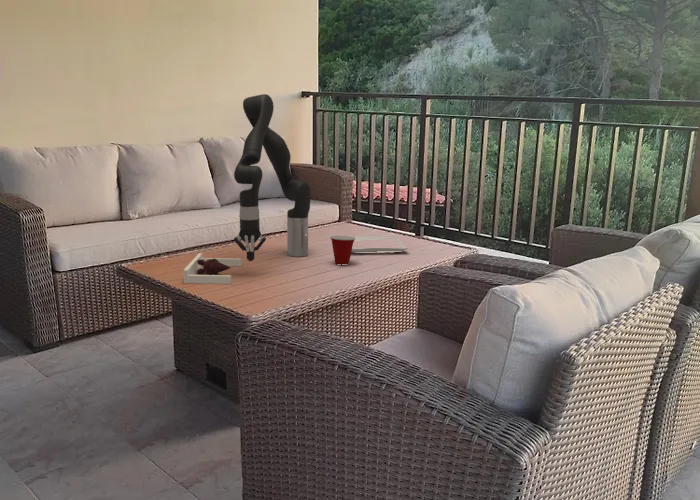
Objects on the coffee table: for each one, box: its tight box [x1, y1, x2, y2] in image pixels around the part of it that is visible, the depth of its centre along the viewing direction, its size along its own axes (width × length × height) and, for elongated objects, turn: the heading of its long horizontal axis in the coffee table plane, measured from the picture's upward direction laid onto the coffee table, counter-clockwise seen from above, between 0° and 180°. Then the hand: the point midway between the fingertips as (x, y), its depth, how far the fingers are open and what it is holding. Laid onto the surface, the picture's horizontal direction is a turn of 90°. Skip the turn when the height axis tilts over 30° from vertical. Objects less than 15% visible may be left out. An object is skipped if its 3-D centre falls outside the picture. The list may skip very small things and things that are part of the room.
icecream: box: [196, 257, 231, 275], centre depth 247 cm, size 7×7×15 cm
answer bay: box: [183, 252, 242, 285], centre depth 249 cm, size 18×27×5 cm, turn 1°
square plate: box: [351, 235, 409, 253], centre depth 300 cm, size 27×27×4 cm
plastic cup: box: [329, 234, 356, 266], centre depth 269 cm, size 11×11×12 cm
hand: (250, 260), depth 249 cm, fingers closed
